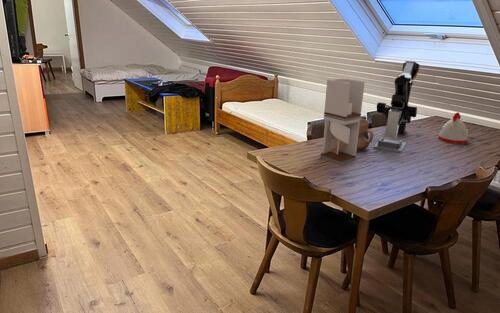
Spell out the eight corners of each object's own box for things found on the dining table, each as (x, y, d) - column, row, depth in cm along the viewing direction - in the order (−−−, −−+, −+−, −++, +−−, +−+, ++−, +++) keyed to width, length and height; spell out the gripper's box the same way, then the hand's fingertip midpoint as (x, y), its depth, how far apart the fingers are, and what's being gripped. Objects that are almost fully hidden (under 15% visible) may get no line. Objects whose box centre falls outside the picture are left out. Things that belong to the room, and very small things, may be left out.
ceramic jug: (329, 147, 195) (332, 119, 190) (345, 141, 205) (348, 114, 200) (362, 157, 183) (366, 127, 178) (377, 150, 193) (381, 122, 188)
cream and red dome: (433, 139, 215) (438, 111, 210) (444, 134, 223) (449, 108, 218) (460, 145, 205) (466, 116, 200) (470, 140, 214) (476, 113, 209)
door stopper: (368, 139, 210) (371, 117, 206) (362, 141, 206) (364, 118, 202) (354, 135, 216) (357, 114, 212) (347, 137, 213) (350, 115, 209)
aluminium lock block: (386, 134, 200) (391, 107, 195) (397, 136, 198) (401, 108, 193) (384, 136, 196) (389, 109, 191) (395, 138, 193) (400, 110, 189)
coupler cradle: (380, 140, 209) (381, 133, 208) (406, 144, 203) (407, 137, 202) (373, 148, 196) (374, 141, 194) (401, 152, 190) (402, 145, 189)
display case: (320, 157, 180) (327, 79, 168) (335, 153, 186) (342, 78, 175) (340, 164, 172) (349, 83, 160) (355, 159, 178) (364, 81, 167)
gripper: (379, 86, 196) (372, 112, 191) (420, 90, 188) (413, 117, 182) (380, 99, 205) (373, 124, 200) (419, 103, 197) (412, 130, 191)
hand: (392, 123), depth 193 cm, fingers closed on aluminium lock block, 5 cm apart
